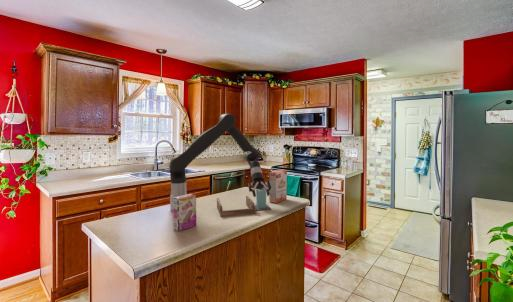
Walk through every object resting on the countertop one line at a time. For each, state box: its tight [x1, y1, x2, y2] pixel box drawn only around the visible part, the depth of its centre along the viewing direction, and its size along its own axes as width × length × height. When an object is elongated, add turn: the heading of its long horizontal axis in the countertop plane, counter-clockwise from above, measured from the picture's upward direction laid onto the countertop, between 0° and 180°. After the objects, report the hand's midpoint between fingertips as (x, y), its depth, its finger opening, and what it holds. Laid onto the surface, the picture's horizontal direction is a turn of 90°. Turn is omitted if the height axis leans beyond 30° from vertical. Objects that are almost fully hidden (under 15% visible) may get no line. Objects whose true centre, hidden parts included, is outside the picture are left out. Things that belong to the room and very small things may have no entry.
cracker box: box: [268, 169, 288, 204], centre depth 185 cm, size 14×6×21 cm, turn 143°
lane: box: [216, 195, 256, 218], centre depth 164 cm, size 19×20×6 cm
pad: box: [254, 203, 272, 212], centre depth 169 cm, size 10×10×1 cm
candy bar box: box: [172, 193, 197, 232], centre depth 135 cm, size 11×5×16 cm, turn 141°
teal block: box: [255, 188, 267, 208], centre depth 169 cm, size 5×5×11 cm
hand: (261, 196), depth 168 cm, fingers open, 8 cm apart
